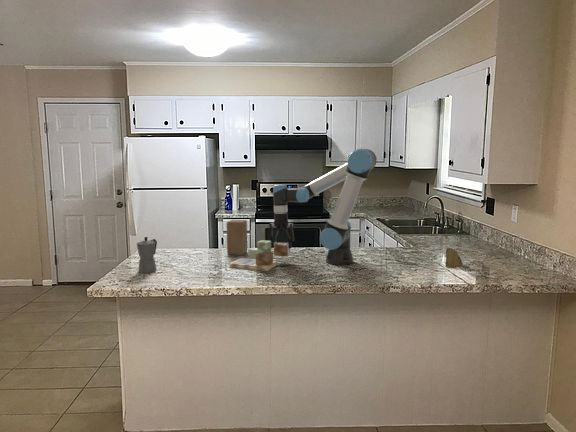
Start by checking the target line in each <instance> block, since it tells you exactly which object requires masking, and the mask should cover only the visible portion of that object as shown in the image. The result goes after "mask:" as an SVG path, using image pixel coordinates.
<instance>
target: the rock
mask: <svg viewBox="0 0 576 432" xmlns="http://www.w3.org/2000/svg"><path fill="white" fill-rule="evenodd" d="M460 266H463V260H462V259H461V257H460V256H459V254H458V251H457V250H455V249H453V248H451V247H450V248H449V247H447V248H446V250H445V265H444V267H445V268H447V269H449V268H451V269H452V268H457V267H460Z"/></svg>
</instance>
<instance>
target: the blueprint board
mask: <svg viewBox="0 0 576 432" xmlns="http://www.w3.org/2000/svg"><path fill="white" fill-rule="evenodd" d="M276 266H278V261H276V260H273V263H271V264H270V265H268V266H266V265H256V259H249V258H245V257H239V258H237V259H236V260H234V261H231V262H230V263H229V268H234V269H235V268H236V269H245V270H255V271H264V272H268V271H270V270H271V269H273V268H275V267H276Z"/></svg>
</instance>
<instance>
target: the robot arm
mask: <svg viewBox="0 0 576 432" xmlns="http://www.w3.org/2000/svg"><path fill="white" fill-rule="evenodd" d="M377 162H378V161H377V154H375V152H374V151H373V150H372V149H369V148H357V149H355V150H353V151H352V152H351V153H350V154H349V155H348V158H347V162H346V163H344V164H342V165H341V166H339V167H336V168H335V169H333V170H331V171H329V172H328V173H325V174H324V175H322V176H320V177H319V178H317V179H315V180H313V181H311V182H309V183H308V184H305V185H303V186H301V187H295V188H294V187H292V188H291V187H289V188H288V186H287V184H282V183H281V184H274V185H273V188H272V189H273V191H272V195H273V196H272V197H273V220H274V221H273V222H270V223H269V224H268V225H269V237H268V241H271V246H272V248H273V249H274V245H275V244H277V243H278V242H277V237H278V235H279V231H280V230H282V231H283V233H284V235H285V238H286V240H287V242H286V243H287V256H289V255H290V254H291V249H292V243H293V242H295V233H294V223H292V222H291V223H290V222H289V215H288V210H289V209H288V203H307V202H308V201H309V200H310V199H312V198H313V197H315V196H317V195H319V194H320V193H322V192H324V191H326V190H328V189H330V188H332V187H334V186H336V185H338V184H340V183H342V182H343V181H344V183H343V186H342V188H341V191H340V193H339V196H338V199H337V202H336V205H335V207H334V210H333V212H332V215H331V218H329V219H327V221H326V224H325V226H324V228H323V229H322V231H321V232H320V235H319V242H320V243H321V245H322V247H324V248H325V249H327V250H328V251H327V253H326V256H325V262H326V263H328V264H331V265H335V266H336V265H338V266H341V265H344V266H345V265H346V266H347V265H351V264H352V263H354V257H353V253H352V250H351V234H352V233H351V231H352V230H351V228H352V226H351V222H350V221H349V219H350V217H351V214H352V211H353V210H354V206H355V203H356V202H357V199H358V195H359V193H360V191H361V187H362V185H363V183H364V181H366V180H368V178H369V175H370V173H371V170H373V169H375V167H376V165H377ZM274 227H275V230H274ZM288 229H289V230H288Z"/></svg>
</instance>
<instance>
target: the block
mask: <svg viewBox="0 0 576 432" xmlns="http://www.w3.org/2000/svg"><path fill="white" fill-rule="evenodd" d="M247 223H248V222H247V220H245V219H231V220H229V221H227V222H226V247H227V248H226V253H227V255H230V256H243V255H245V254H246V253H247V252H248V224H247Z"/></svg>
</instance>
